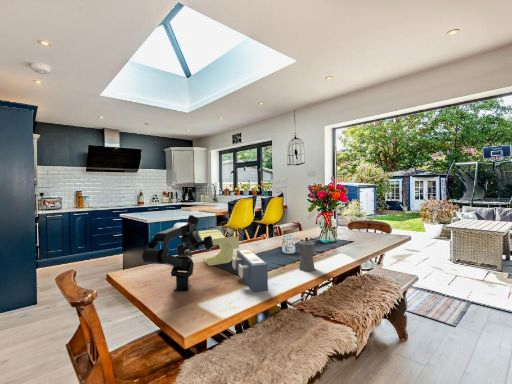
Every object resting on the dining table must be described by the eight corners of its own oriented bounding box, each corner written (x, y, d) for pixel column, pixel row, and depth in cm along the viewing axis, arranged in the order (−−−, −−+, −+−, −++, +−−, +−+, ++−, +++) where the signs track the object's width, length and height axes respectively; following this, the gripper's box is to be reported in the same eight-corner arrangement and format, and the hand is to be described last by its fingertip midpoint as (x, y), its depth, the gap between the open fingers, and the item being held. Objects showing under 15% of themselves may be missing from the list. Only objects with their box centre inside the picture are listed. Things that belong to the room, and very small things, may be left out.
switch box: (253, 292, 120) (252, 264, 120) (237, 271, 149) (237, 249, 148) (267, 290, 122) (267, 262, 122) (249, 270, 151) (249, 248, 151)
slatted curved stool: (239, 265, 161) (238, 235, 161) (214, 269, 154) (213, 238, 153) (221, 254, 188) (220, 228, 187) (198, 257, 180) (198, 231, 180)
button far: (234, 269, 137) (234, 259, 137) (232, 266, 142) (232, 256, 142) (246, 268, 139) (246, 258, 139) (244, 265, 144) (244, 255, 144)
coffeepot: (319, 271, 147) (319, 239, 146) (303, 273, 145) (303, 240, 144) (308, 263, 162) (308, 234, 161) (293, 265, 160) (293, 235, 159)
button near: (241, 278, 124) (241, 267, 124) (238, 274, 129) (238, 264, 129) (254, 276, 126) (254, 265, 126) (251, 273, 131) (251, 262, 131)
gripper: (206, 221, 140) (214, 236, 152) (171, 231, 139) (182, 246, 151) (208, 238, 133) (217, 253, 144) (172, 249, 132) (183, 263, 144)
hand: (200, 253), depth 146 cm, fingers open, 9 cm apart
